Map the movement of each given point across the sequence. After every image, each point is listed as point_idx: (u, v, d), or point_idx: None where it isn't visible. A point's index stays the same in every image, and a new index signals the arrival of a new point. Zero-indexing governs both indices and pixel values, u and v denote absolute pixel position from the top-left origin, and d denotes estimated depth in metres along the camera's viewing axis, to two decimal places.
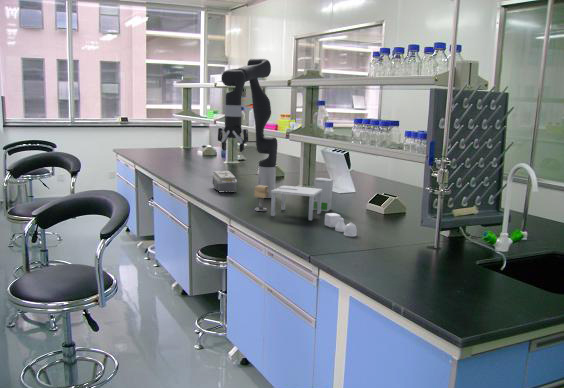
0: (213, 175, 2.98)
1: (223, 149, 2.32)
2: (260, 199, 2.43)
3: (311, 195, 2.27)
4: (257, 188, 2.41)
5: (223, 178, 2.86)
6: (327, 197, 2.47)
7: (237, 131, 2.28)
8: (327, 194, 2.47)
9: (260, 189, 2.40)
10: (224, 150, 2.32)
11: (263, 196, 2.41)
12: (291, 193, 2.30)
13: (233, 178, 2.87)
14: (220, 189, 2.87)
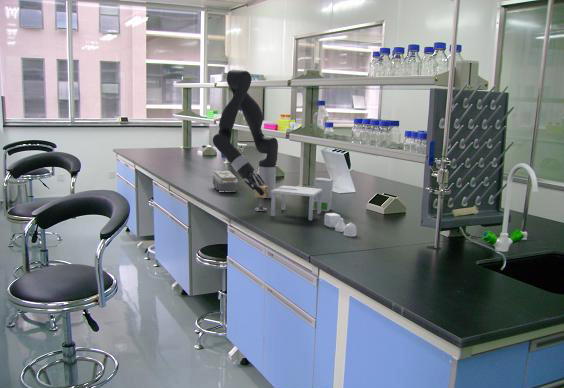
0: (213, 175, 2.98)
1: None
2: (260, 199, 2.43)
3: (311, 195, 2.27)
4: None
5: (224, 178, 2.86)
6: (327, 197, 2.47)
7: None
8: (327, 194, 2.47)
9: None
10: None
11: (263, 196, 2.41)
12: (291, 193, 2.30)
13: (234, 178, 2.88)
14: (221, 189, 2.87)
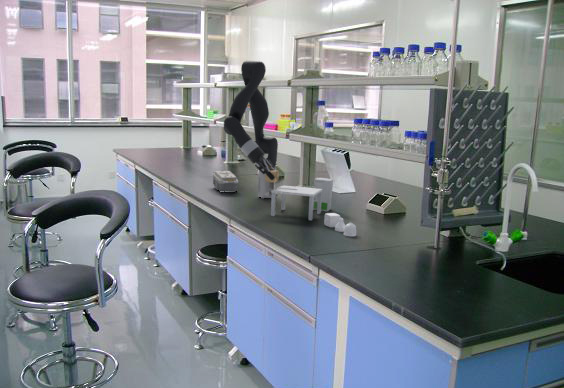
0: (214, 175, 2.98)
1: None
2: (270, 184, 2.40)
3: (311, 195, 2.27)
4: None
5: (224, 178, 2.86)
6: (327, 197, 2.47)
7: None
8: (327, 194, 2.47)
9: None
10: None
11: (274, 181, 2.37)
12: (291, 193, 2.30)
13: (234, 178, 2.88)
14: (221, 189, 2.87)
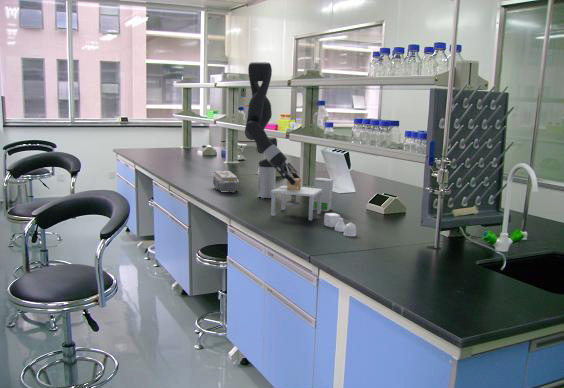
0: (214, 175, 2.98)
1: None
2: None
3: (311, 195, 2.27)
4: None
5: (225, 178, 2.86)
6: (327, 197, 2.47)
7: None
8: (327, 194, 2.47)
9: None
10: None
11: (296, 189, 2.34)
12: (291, 193, 2.30)
13: (235, 178, 2.88)
14: (222, 189, 2.87)
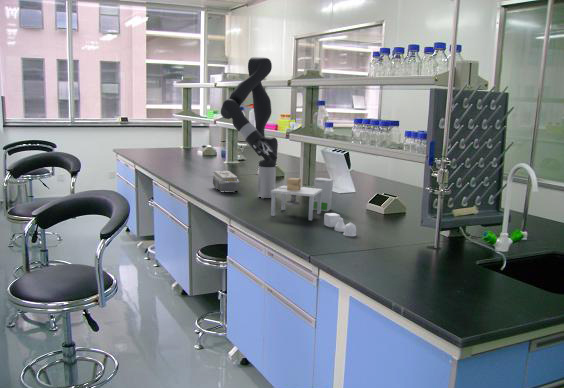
0: (214, 175, 2.98)
1: (273, 160, 2.43)
2: None
3: (311, 195, 2.27)
4: (290, 180, 2.35)
5: (225, 178, 2.86)
6: (327, 197, 2.47)
7: None
8: (327, 194, 2.47)
9: (293, 181, 2.34)
10: (274, 160, 2.42)
11: (296, 189, 2.34)
12: (291, 193, 2.30)
13: (235, 178, 2.88)
14: (222, 189, 2.87)
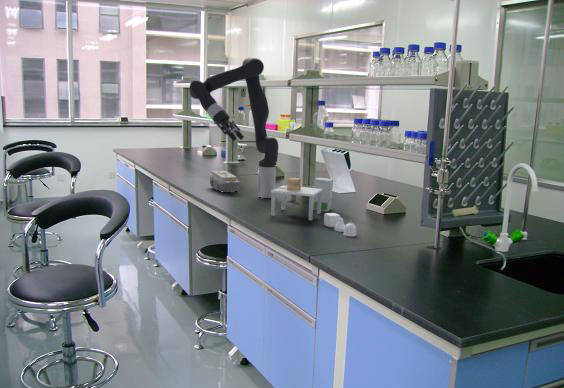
0: (211, 175, 2.97)
1: (240, 139, 2.50)
2: None
3: (311, 195, 2.27)
4: (290, 180, 2.35)
5: (225, 178, 2.86)
6: (327, 197, 2.47)
7: None
8: (327, 194, 2.47)
9: (293, 181, 2.34)
10: (241, 139, 2.50)
11: (296, 189, 2.34)
12: (291, 193, 2.30)
13: (235, 178, 2.88)
14: (222, 189, 2.87)
